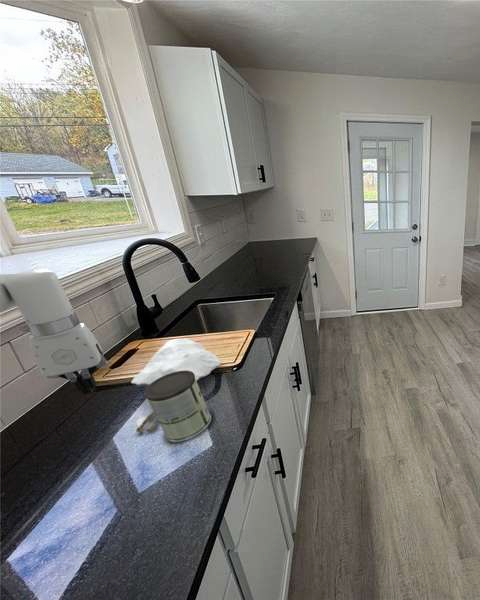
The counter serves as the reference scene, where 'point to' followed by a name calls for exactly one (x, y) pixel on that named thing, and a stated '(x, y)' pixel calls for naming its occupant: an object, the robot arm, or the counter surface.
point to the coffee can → (178, 405)
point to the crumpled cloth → (178, 361)
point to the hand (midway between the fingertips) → (89, 390)
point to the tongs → (146, 422)
